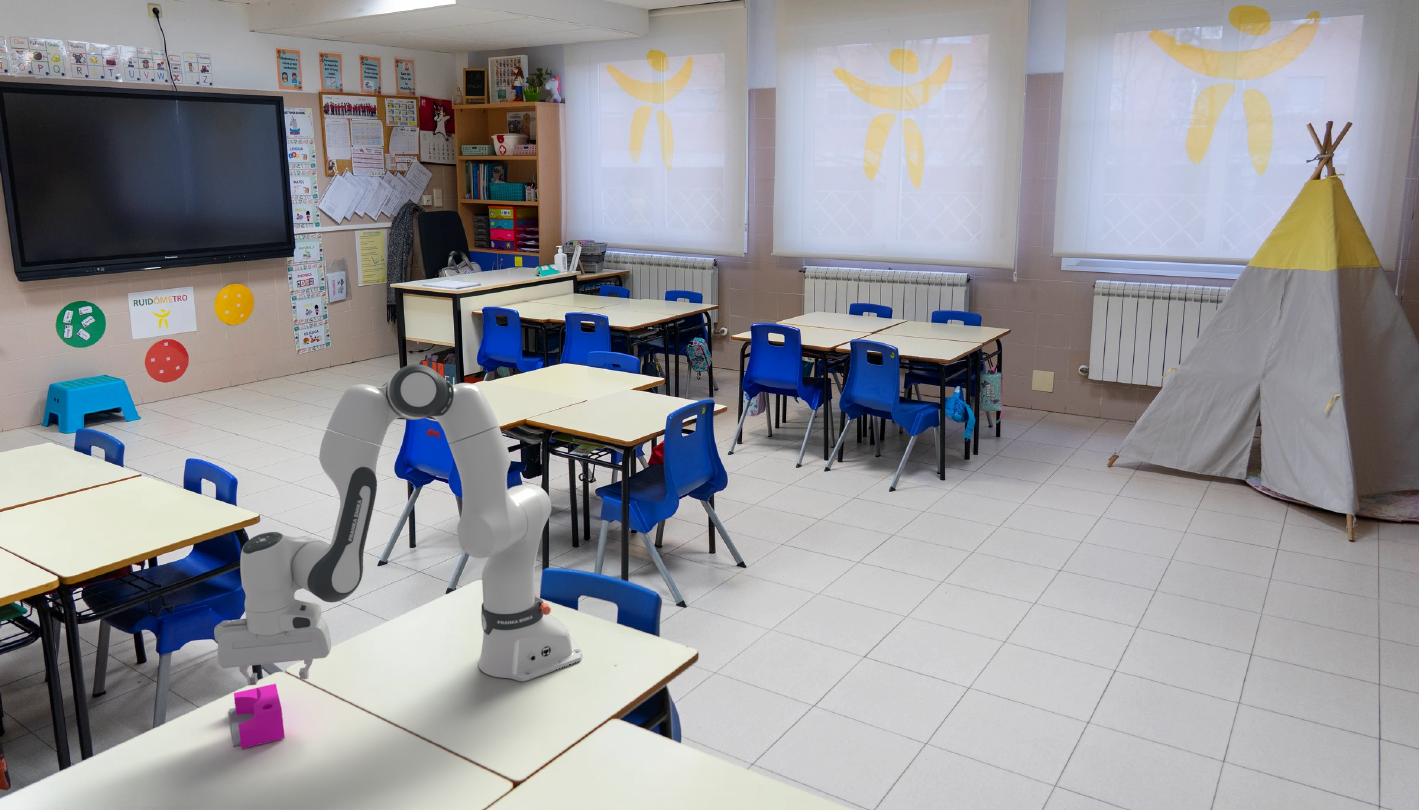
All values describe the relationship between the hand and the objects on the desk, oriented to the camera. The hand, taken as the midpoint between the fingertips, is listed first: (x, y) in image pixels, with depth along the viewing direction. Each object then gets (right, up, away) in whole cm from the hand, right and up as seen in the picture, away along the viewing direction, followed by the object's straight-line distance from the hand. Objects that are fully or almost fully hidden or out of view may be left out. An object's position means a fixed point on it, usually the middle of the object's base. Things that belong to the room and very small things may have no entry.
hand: (278, 680), depth 191 cm
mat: (-5, -8, 0) cm, 10 cm away
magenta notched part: (0, -5, 0) cm, 5 cm away
